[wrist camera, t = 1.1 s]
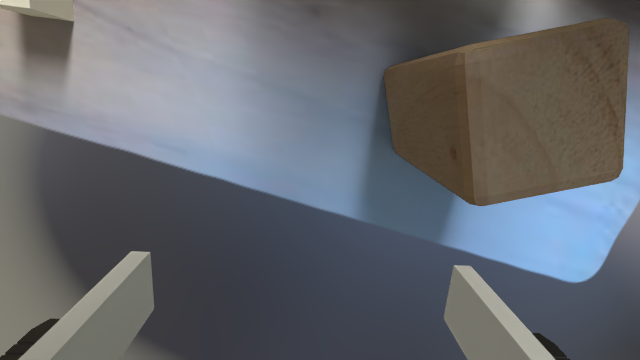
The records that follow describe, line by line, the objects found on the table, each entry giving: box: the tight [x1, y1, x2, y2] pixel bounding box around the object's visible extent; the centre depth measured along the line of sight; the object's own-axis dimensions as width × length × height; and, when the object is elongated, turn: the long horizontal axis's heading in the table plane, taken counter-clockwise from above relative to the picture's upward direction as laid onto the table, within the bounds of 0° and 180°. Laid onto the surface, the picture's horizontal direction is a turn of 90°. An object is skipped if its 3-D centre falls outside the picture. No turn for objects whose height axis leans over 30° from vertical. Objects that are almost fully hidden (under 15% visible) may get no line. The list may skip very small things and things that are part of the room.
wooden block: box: [384, 18, 629, 206], centre depth 30 cm, size 10×10×20 cm
